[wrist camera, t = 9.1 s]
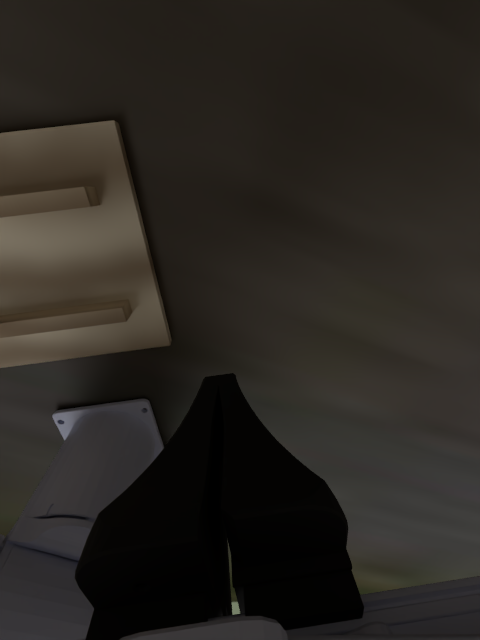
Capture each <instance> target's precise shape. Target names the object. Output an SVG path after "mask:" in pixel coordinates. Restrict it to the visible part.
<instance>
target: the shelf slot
mask: <svg viewBox="0 0 480 640" xmlns="http://www.w3.org/2000/svg"><path fill="white" fill-rule="evenodd" d="M171 341H172V339H171V335H170V331H169V327H168V323H167V319H166V314H165V310H164V306H163V302H162V298H161V294H160V290H159V286H158V282H157V278H156V274H155V270H154V265H153V261H152V257H151V253H150V249H149V245H148V241H147V237H146V233H145V229H144V225H143V221H142V216H141V212H140V208H139V204H138V200H137V196H136V192H135V188H134V184H133V180H132V176H131V172H130V167H129V163H128V159H127V155H126V151H125V147H124V143H123V139H122V135H121V131H120V127H119V123H117V122H116V121H114V120H112V121H103V122H95V123H86V124H77V125H68V126H59V127H50V128H41V129H32V130H23V131H14V132H6V133H0V368H4V367H11V366H19V365H26V364H34V363H42V362H49V361H57V360H64V359H72V358H79V357H87V356H94V355H102V354H109V353H117V352H124V351H132V350H139V349H147V348H155V347H162V346H170V345H171Z"/></svg>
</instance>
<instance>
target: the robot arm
mask: <svg viewBox="0 0 480 640" xmlns="http://www.w3.org/2000/svg"><path fill="white" fill-rule="evenodd" d="M143 408H146V409H147V410H145V409H143ZM52 417H53V419H54V421H55V423H56V425H57V427H58V429H59V431H60V433H61V434H62V436H63V438H64V440H65V441H64V443H63V445H62V446H61V448H60V450H59V451H58V453H57V455H56V456H55V458H54V460H53V461H52V463H51V465H50V466H49V468H48V470H47V471H46V473H45V475H44V477H43V478H42V480H41V482H40V483H39V485H38V487H37V488H36V490H35V492H34V493H33V495H32V497H31V498H30V500H29V502H28V503H27V505H26V507H25V508H24V510H23V512H22V514H21V515H20V517H19V519H18V520H17V522H16V524H15V525H14V527H13V528H12V529H11V531H10V532H9V533H8V534H7V536H6V537H5V536H4V535H1V534H0V640H480V576H477V577H471V578H464V579H458V580H452V581H445V582H439V583H433V584H426V585H420V586H414V587H407V588H401V589H394V590H388V591H382V592H375V593H369V594H363V595H360V593H359V591H358V588H357V585H356V582H355V579H354V577H353V574H352V571H351V570H352V564H351V561H350V558H349V555H348V552H347V550H346V545H347V535H348V523H347V520H346V517H345V515H344V513H343V511H342V509H341V507H340V505H339V503H338V501H337V499H336V498H335V496H334V494H333V493H332V491H331V490H330V488H329V487H328V485H327V484H326V482H325V481H324V480H323V479H322V478H320V477H319V476H318V475H316V474H315V473H314V472H312V471H311V470H310V469H308V468H307V467H306V466H305V465H303V464H302V463H301V462H300V461H299V460H297V459H296V458H295V457H294V456H293V455H292V454H291V453H290V452H289V451H288V450H286V449H285V448H284V447H283V446H282V445H281V444H280V443H279V442H278V441H277V440H276V439H275V438H274V437H273V435H272V434H271V433H270V432H269V431H268V430H267V429H266V427H265V426H264V425H263V424H262V422H261V421H260V420H259V419H258V417H257V416H256V414H255V413H254V412H253V410H252V409H251V407H250V405H249V404H248V402H247V400H246V399H245V397H244V395H243V393H242V392H241V389H240V387H239V385H238V383H237V380H236V375H235V374H233V373H231V374H224V375H216V376H209V377H205V378H204V379H203V382H202V384H201V387H200V389H199V391H198V393H197V396H196V398H195V400H194V402H193V404H192V405H191V407H190V409H189V411H188V413H187V415H186V416H185V418H184V420H183V421H182V423H181V424H180V426H179V428H178V429H177V431H176V432H175V434H174V435H173V437H172V438H171V439H170V441H169V442H168V443H167V445H166V446H165V447H164V445H163V442H162V439H161V436H160V433H159V430H158V426H157V423H156V420H155V417H154V414H153V411H152V408H151V405H150V402H149V400H147V399H136V400H129V401H121V402H114V403H107V404H100V405H92V406H85V407H78V408H70V409H63V410H57V411H55V412H54V414H53V416H52ZM62 420H63V421H62ZM227 538H228V542H227ZM228 543H229V547H230V552H231V561H232V583H233V588H235V592H236V596H237V600H238V604H239V609H240V613H241V614H236V615H232V605H231V589H230V574H229V558H228Z"/></svg>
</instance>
